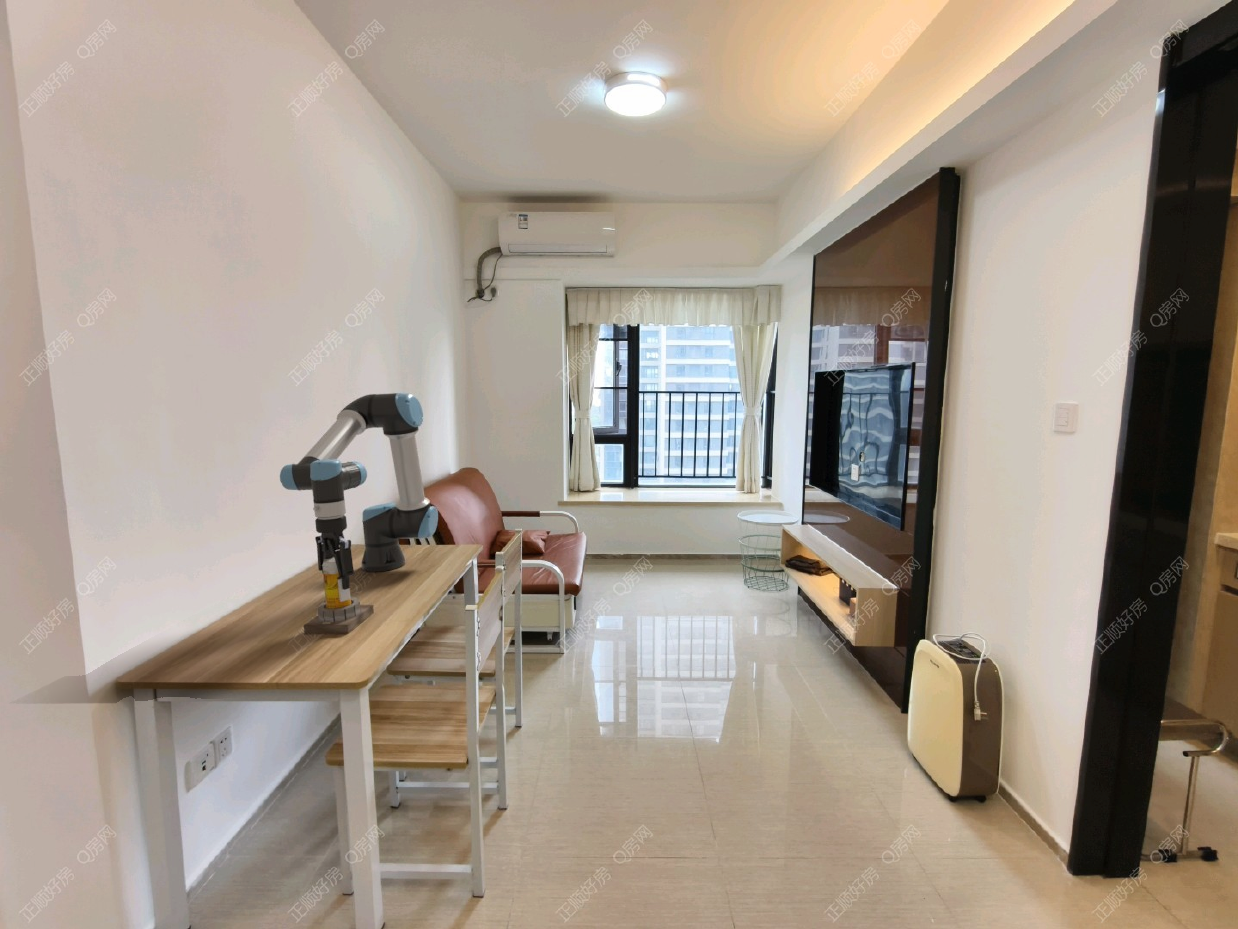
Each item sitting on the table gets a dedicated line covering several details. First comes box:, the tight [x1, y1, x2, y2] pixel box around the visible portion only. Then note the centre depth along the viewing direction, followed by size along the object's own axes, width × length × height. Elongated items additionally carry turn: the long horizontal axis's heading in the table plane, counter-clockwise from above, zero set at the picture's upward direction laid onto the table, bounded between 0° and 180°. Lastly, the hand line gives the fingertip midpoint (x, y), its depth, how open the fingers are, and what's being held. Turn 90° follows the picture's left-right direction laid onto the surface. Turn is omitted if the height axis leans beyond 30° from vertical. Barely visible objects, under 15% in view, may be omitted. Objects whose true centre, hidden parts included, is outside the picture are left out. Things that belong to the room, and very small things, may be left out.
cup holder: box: [303, 596, 374, 635], centre depth 153 cm, size 14×12×6 cm
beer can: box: [322, 557, 351, 609], centre depth 152 cm, size 6×6×15 cm
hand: (338, 597), depth 153 cm, fingers closed on beer can, 6 cm apart
